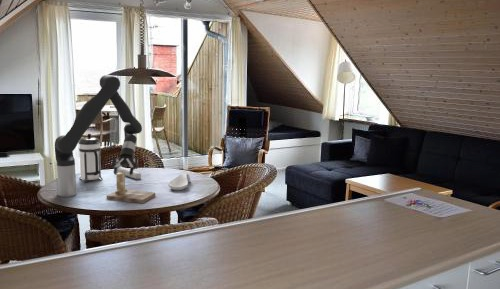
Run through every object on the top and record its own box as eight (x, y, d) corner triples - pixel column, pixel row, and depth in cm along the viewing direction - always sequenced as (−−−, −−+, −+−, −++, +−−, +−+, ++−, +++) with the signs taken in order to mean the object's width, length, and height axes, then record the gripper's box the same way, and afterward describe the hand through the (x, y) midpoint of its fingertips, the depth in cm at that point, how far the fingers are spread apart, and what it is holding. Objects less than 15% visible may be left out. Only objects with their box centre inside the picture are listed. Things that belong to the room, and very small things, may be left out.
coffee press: (72, 182, 258) (70, 134, 253) (86, 176, 273) (85, 131, 268) (98, 184, 255) (96, 136, 250) (111, 178, 270) (109, 132, 265)
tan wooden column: (115, 193, 230) (114, 174, 229) (118, 191, 235) (117, 172, 234) (124, 193, 231) (123, 174, 229) (126, 191, 235) (126, 172, 234)
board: (106, 199, 227) (106, 195, 226) (120, 192, 240) (120, 188, 240) (142, 203, 221) (142, 199, 221) (155, 196, 235) (155, 192, 234)
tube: (143, 173, 271) (123, 166, 287) (137, 171, 267) (116, 165, 283) (141, 181, 271) (120, 173, 287) (135, 179, 267) (114, 172, 283)
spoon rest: (184, 192, 243) (184, 180, 242) (165, 191, 245) (165, 179, 244) (195, 182, 267) (195, 171, 265) (178, 181, 268) (178, 170, 267)
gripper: (114, 146, 242) (108, 170, 232) (138, 147, 242) (134, 171, 232) (117, 153, 248) (111, 177, 238) (141, 154, 248) (136, 177, 239)
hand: (122, 174), depth 235 cm, fingers open, 8 cm apart
